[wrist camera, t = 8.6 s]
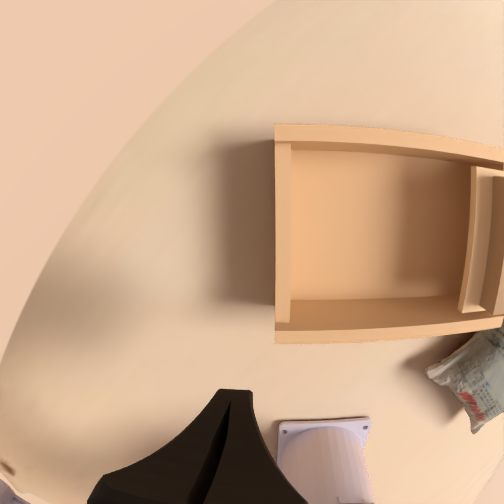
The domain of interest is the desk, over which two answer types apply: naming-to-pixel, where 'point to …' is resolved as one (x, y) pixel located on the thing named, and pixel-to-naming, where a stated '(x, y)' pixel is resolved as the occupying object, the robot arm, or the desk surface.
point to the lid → (484, 244)
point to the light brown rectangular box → (372, 233)
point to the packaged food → (475, 375)
